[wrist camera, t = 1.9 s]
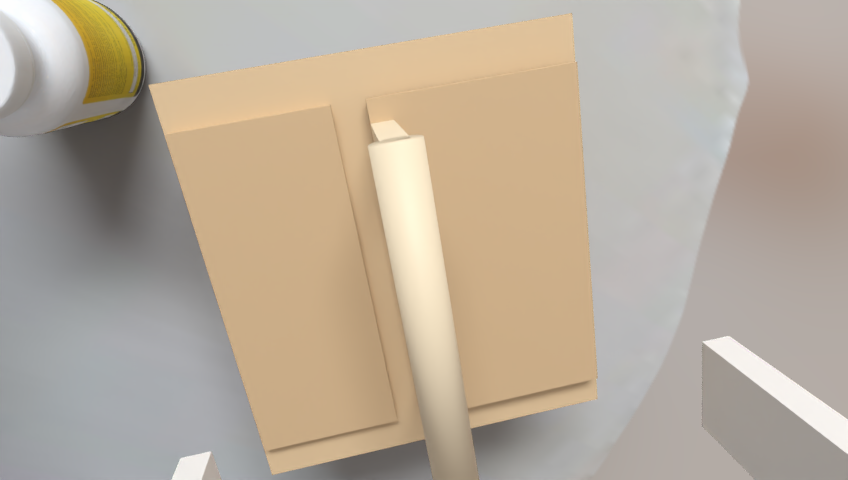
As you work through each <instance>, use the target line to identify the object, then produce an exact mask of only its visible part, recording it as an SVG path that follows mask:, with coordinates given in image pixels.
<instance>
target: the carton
mask: <svg viewBox="0 0 848 480" xmlns="http://www.w3.org/2000/svg"><path fill="white" fill-rule="evenodd" d="M570 62H575V51H574V35H573V20H572V13H570V14H564V15H558V16H552V17H546V18H541V19H535V20H529V21H523V22H517V23H511V24H505V25H499V26H493V27H487V28H482V29H476V30H470V31H464V32H458V33H452V34H446V35H440V36H434V37H428V38H423V39H417V40H411V41H405V42H399V43H393V44H387V45H381V46H375V47H369V48H363V49H358V50H352V51H346V52H340V53H334V54H328V55H322V56H316V57H310V58H304V59H299V60H293V61H287V62H281V63H275V64H269V65H263V66H257V67H251V68H245V69H240V70H234V71H228V72H222V73H216V74H210V75H204V76H198V77H192V78H186V79H181V80H175V81H169V82H163V83H157V84H151V85H149V88H150V92H151V95H152V98H153V101H154V104H155V107H156V110H157V114H158V117H159V120H160V123H161V126H162V129H163V132H164V136H165V139H166V142H167V145H168V148H169V151H170V154H171V158H172V161H173V164H174V167H175V170H176V173H177V177H178V180H179V183H180V186H181V189H182V192H183V195H184V199H185V202H186V205H187V208H188V211H189V214H190V217H191V221H192V224H193V227H194V230H195V233H196V236H197V239H198V243H199V246H200V249H201V252H202V255H203V258H204V262H205V265H206V268H207V271H208V274H209V277H210V280H211V284H212V287H213V290H214V293H215V296H216V299H217V302H218V306H219V309H220V312H221V315H222V318H223V321H224V324H225V328H226V331H227V334H228V337H229V340H230V343H231V346H232V350H233V353H234V356H235V359H236V362H237V365H238V369H239V372H240V375H241V378H242V381H243V384H244V387H245V391H246V394H247V397H248V400H249V403H250V406H251V409H252V413H253V416H254V419H255V422H256V425H257V428H258V431H259V435H260V438H261V441H262V444H263V447H264V450H265V454H266V457H267V460H268V463H269V466H270V469H271V472H272V475H274V474H279V473H283V472H287V471H291V470H296V469H300V468H304V467H308V466H313V465H317V464H321V463H326V462H330V461H334V460H338V459H343V458H347V457H351V456H356V455H360V454H364V453H368V452H373V451H377V450H381V449H385V448H390V447H394V446H398V445H403V444H407V443H411V442H415V441H420V440H424V439H425V436H424V431H423V426H422V421H421V416H420V411H419V406H418V400H417V395H416V390H415V385H414V380H413V375H412V370H411V365H410V360H409V355H408V349H407V344H406V339H405V334H404V329H403V324H402V319H401V314H400V309H399V303H398V298H397V293H396V288H395V283H394V278H393V273H392V268H391V263H390V257H389V252H388V247H387V242H386V237H385V232H384V227H383V222H382V217H381V212H380V206H379V201H378V196H377V191H376V186H375V181H374V176H373V171H372V166H371V160H370V155H369V150H368V145H369V144H371V143H373V137H372V132H371V126H370V121H369V116H368V111H367V106H366V100H365V99H367V98H373V97H379V96H384V95H390V94H395V93H401V92H407V91H412V90H418V89H424V88H429V87H435V86H441V85H446V84H452V83H457V82H463V81H469V80H474V79H480V78H486V77H491V76H497V75H502V74H508V73H514V72H519V71H525V70H531V69H536V68H542V67H548V66H553V65H559V64H564V63H570ZM595 399H597V385H596V379H592V380H588V381H584V382H579V383H575V384H571V385H566V386H562V387H558V388H553V389H549V390H545V391H540V392H536V393H532V394H527V395H523V396H519V397H514V398H510V399H506V400H501V401H497V402H493V403H488V404H484V405H480V406H475V407H471V408H468V414H469V420H470V426H471V428H475V427H479V426H484V425H488V424H492V423H497V422H501V421H505V420H509V419H514V418H518V417H522V416H527V415H531V414H535V413H539V412H544V411H548V410H552V409H556V408H561V407H565V406H569V405H574V404H578V403H582V402H586V401H591V400H595Z"/></svg>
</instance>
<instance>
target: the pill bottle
mask: <svg viewBox="0 0 848 480" xmlns="http://www.w3.org/2000/svg"><path fill="white" fill-rule="evenodd" d="M144 78H145V59H144V54H143V50H142V47H141V45H140V43H139V41H138V38H137V37H136V35H135V33H134V32H133V30H132V29H131V28H130V26H129V25H128V24H127V23H126V22H125V20H123V19H122V18H121V17H120V16H119V15H118V14H117V13H116V12H114V11H113V10H111V9H110V8H108V7H107V6H105V5H103V4H101V3H99V2H97V1H94V0H0V136H7V137H26V136H34V135H39V134H44V133H48V132H52V131H56V130H60V129H64V128H68V127H72V126H76V125H80V124H83V123H87V122H92V121H96V120H101V119H105V118H108V117H111V116H114V115H116V114H118V113H120V112H122V111H123V110H125V109H126V108H127V107H128V106H130V105H131V104H132V103H133V102H134V100H135V99H136V97H137V96H138V95H139V93H140V91H141V88H142V86H143V82H144Z"/></svg>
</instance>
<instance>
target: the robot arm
mask: <svg viewBox="0 0 848 480" xmlns="http://www.w3.org/2000/svg"><path fill="white" fill-rule="evenodd" d="M702 427H703V428H704V429H705V430H706V431H707V432H708V433H709V434H710V435H711V436H712V437H713V438H714V439H715V440H716V441H718V443H719V444H720V445H721V446H722V447H723V448H724V449H725V450H726V451H727V452H728V453H729V454H730V455H731V456H732V457H733V458H734V459H735V460H736V461H737V462H738V463H739V464H740V465H741V466H742V467H743V468H744V469H745V470H746V471H747V472H748V473H749V474H750V475H751V476H752V477H753V478H754V479H755V480H848V419H846V418H845V417H843V416H842V415H841V414H839V413H838V412H836V411H835V410H833V409H832V408H830V407H829V406H828V405H826V404H825V403H823V402H822V401H820V400H819V399H818V398H816V397H815V396H814V395H812V394H811V393H809V392H808V391H806V390H805V389H804V388H802V387H801V386H799V385H798V384H796V383H795V382H794V381H792V380H791V379H789V378H788V377H786V376H785V375H784V374H782V373H781V372H779V371H778V370H777V369H775V368H774V367H772V366H771V365H769V364H768V363H767V362H765V361H764V360H762V359H761V358H760V357H758V356H757V355H755V354H754V353H752V352H751V351H750V350H748V349H746V348H745V347H744V346H742V345H741V344H739V343H738V342H737V341H735V340H734V339H733V338H731V337H730V336H726V337H722V338H718V339H713V340H708V341H704V342H702ZM172 480H221V477H220V474H219V471H218V468H217V465H216V463H215V460H214V457H213V454H212V451H211V452H206V453H202V454H197V455H193V456H188V457H184V458H180V461H179V463H178V466H177V468H176V470H175V473H174V475H173V477H172Z"/></svg>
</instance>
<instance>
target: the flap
mask: <svg viewBox="0 0 848 480" xmlns="http://www.w3.org/2000/svg"><path fill="white" fill-rule="evenodd" d="M365 100H366V106H367V111H368V116H369V121H370V126H371V132H372V137H373V143H371V144H369V145H368V150H369V155H370V160H371V166H372V171H373V176H374V181H375V186H376V191H377V196H378V201H379V206H380V212H381V217H382V222H383V227H384V232H385V237H386V242H387V247H388V252H389V257H390V263H391V268H392V273H393V278H394V283H395V288H396V293H397V298H398V303H399V309H400V314H401V319H402V324H403V329H404V334H405V339H406V344H407V349H408V355H409V360H410V365H411V370H412V375H413V380H414V385H415V390H416V395H417V400H418V406H419V411H420V416H421V421H422V426H423V431H424V436H425V441H426V446H427V452H428V457H429V462H430V467H431V472H432V477H433V480H479V476H478V470H477V464H476V457H475V451H474V445H473V439H472V433H471V426H470V420H469V414H468V408H471V407H475V406H480V405H484V404H488V403H493V402H497V401H501V400H506V399H510V398H514V397H519V396H523V395H527V394H532V393H536V392H540V391H545V390H549V389H553V388H558V387H562V386H566V385H571V384H575V383H579V382H584V381H588V380H592V379H597V362H596V347H595V331H594V316H593V300H592V285H591V270H590V254H589V239H588V223H587V208H586V192H585V177H584V162H583V146H582V131H581V115H580V100H579V84H578V69H577V62H570V63H564V64H559V65H553V66H548V67H542V68H536V69H531V70H525V71H519V72H514V73H508V74H502V75H497V76H491V77H486V78H480V79H474V80H469V81H463V82H457V83H452V84H446V85H441V86H435V87H429V88H424V89H418V90H412V91H407V92H401V93H395V94H390V95H384V96H379V97H373V98H367V99H365Z"/></svg>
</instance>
